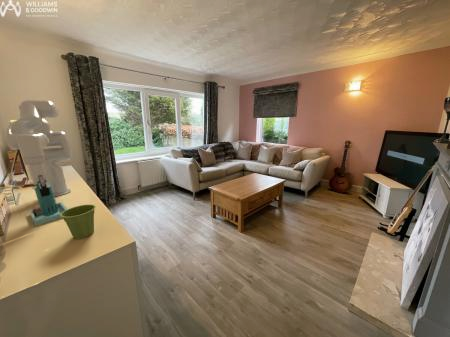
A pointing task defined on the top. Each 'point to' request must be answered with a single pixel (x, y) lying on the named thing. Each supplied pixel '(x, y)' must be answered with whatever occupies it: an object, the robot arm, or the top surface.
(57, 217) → the tray
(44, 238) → the top surface
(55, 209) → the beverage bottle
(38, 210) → the walnut block
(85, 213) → the plant pot
